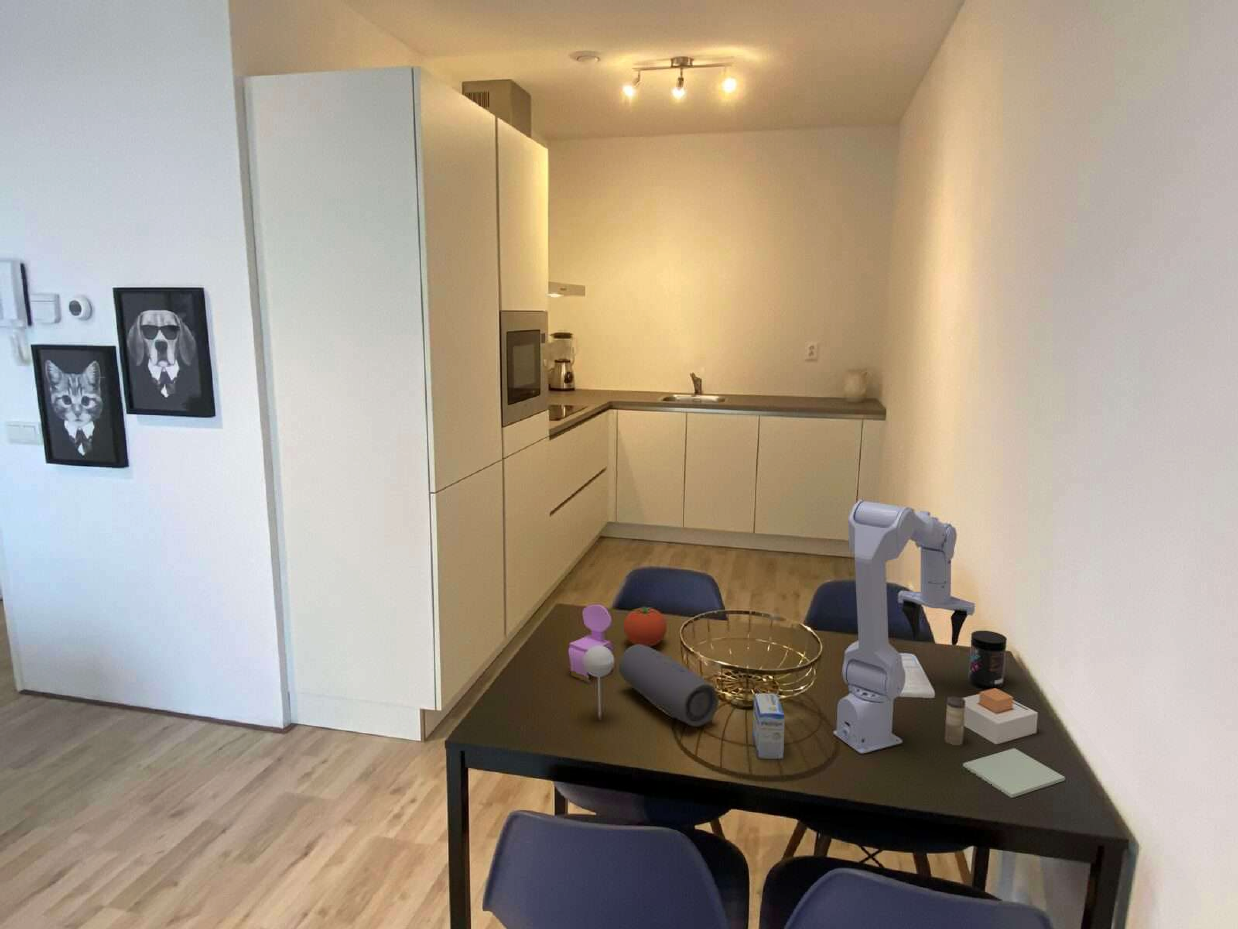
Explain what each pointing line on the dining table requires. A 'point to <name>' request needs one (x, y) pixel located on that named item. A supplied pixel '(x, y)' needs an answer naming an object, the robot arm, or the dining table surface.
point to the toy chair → (590, 637)
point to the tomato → (645, 626)
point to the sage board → (1013, 772)
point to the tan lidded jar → (955, 720)
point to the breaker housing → (999, 721)
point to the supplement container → (987, 659)
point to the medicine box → (768, 726)
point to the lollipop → (598, 665)
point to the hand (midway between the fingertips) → (935, 639)
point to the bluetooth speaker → (669, 685)
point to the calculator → (915, 679)
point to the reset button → (996, 701)
